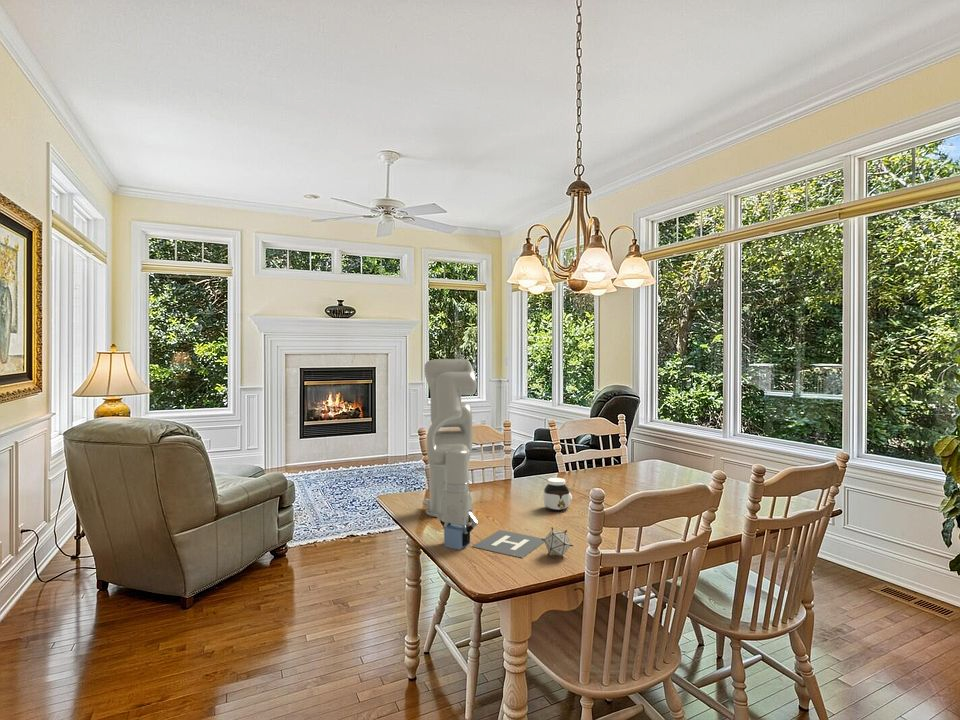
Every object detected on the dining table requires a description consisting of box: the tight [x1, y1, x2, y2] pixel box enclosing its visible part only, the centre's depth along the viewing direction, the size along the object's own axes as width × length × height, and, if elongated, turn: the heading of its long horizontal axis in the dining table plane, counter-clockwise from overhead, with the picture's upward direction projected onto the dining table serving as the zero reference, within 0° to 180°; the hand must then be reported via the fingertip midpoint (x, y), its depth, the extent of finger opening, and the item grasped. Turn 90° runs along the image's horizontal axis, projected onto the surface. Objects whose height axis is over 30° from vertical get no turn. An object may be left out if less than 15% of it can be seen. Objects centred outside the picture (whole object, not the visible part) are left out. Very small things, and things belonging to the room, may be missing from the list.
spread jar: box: [543, 477, 573, 513], centre depth 210 cm, size 12×11×12 cm
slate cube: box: [443, 524, 471, 551], centre depth 171 cm, size 6×6×6 cm
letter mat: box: [472, 529, 545, 559], centre depth 172 cm, size 18×18×1 cm
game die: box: [541, 526, 574, 560], centre depth 161 cm, size 9×8×10 cm
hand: (457, 542), depth 171 cm, fingers closed on slate cube, 6 cm apart
